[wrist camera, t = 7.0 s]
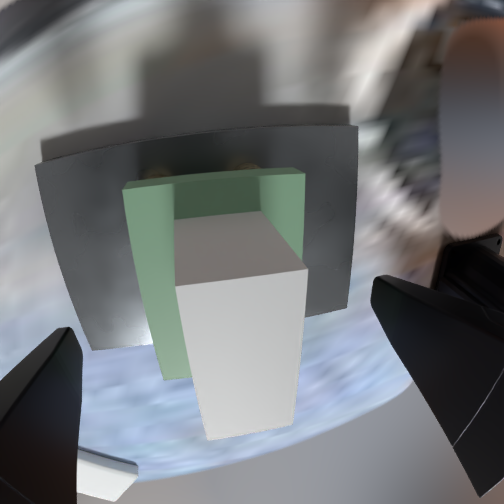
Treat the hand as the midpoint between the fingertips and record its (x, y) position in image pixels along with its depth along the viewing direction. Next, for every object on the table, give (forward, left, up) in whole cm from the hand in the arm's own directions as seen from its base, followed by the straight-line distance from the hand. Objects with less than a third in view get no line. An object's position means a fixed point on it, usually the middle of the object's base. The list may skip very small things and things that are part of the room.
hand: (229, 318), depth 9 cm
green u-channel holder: (0, 0, -2) cm, 2 cm away
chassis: (0, 0, -6) cm, 6 cm away
